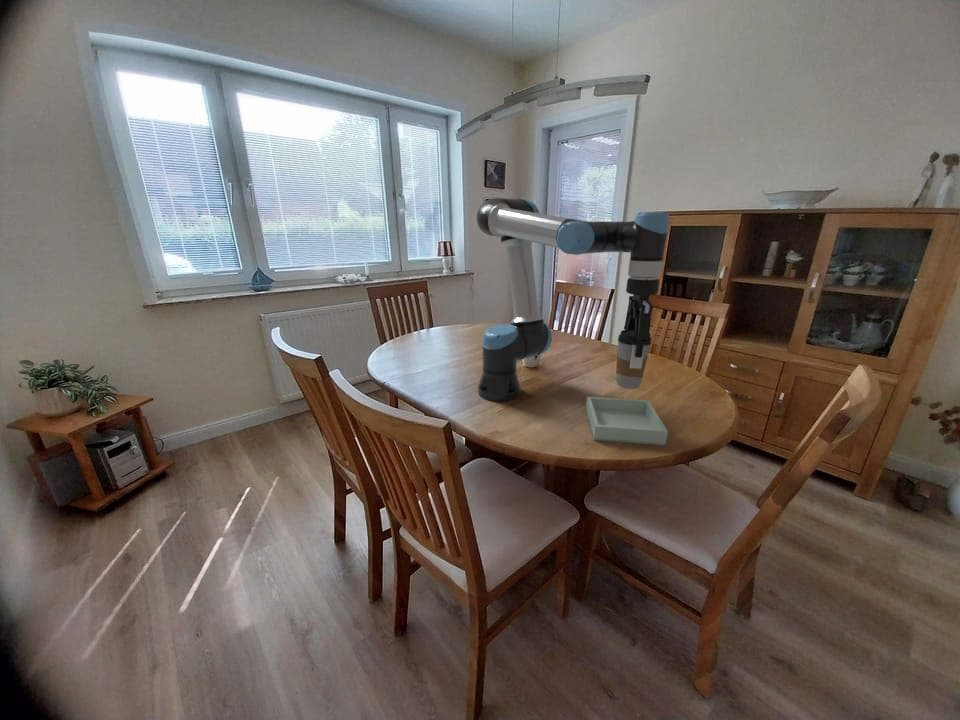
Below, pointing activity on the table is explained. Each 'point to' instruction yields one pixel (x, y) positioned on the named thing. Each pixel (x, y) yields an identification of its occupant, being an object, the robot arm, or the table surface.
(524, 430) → the table surface
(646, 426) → the tray
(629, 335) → the coffee cup
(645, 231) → the robot arm
